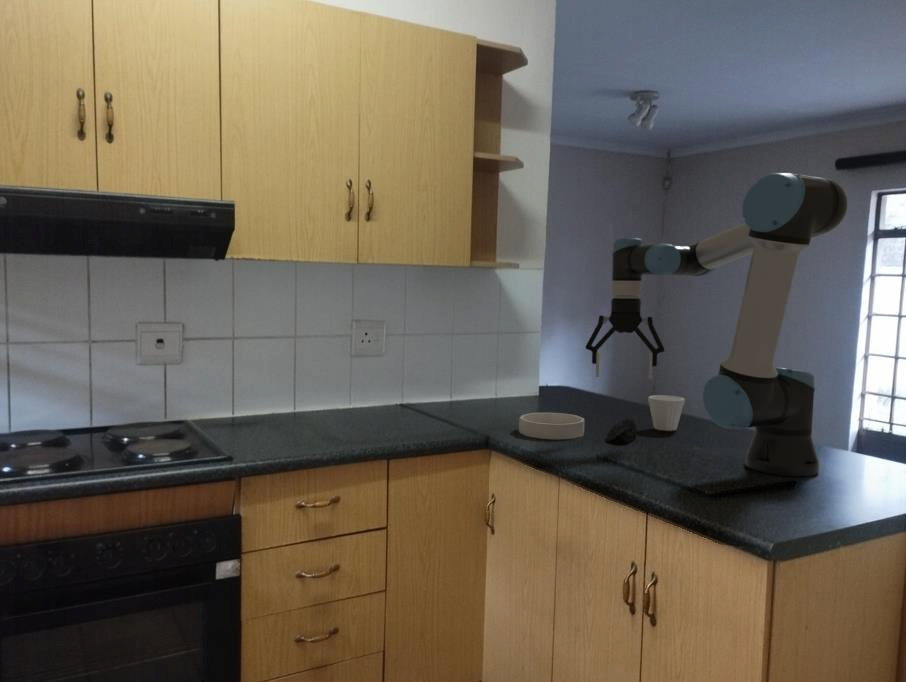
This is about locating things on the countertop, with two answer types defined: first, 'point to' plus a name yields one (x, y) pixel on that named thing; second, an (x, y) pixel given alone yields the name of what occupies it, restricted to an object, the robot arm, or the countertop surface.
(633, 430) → the rock
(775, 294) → the robot arm
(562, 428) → the bowl
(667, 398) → the cup
